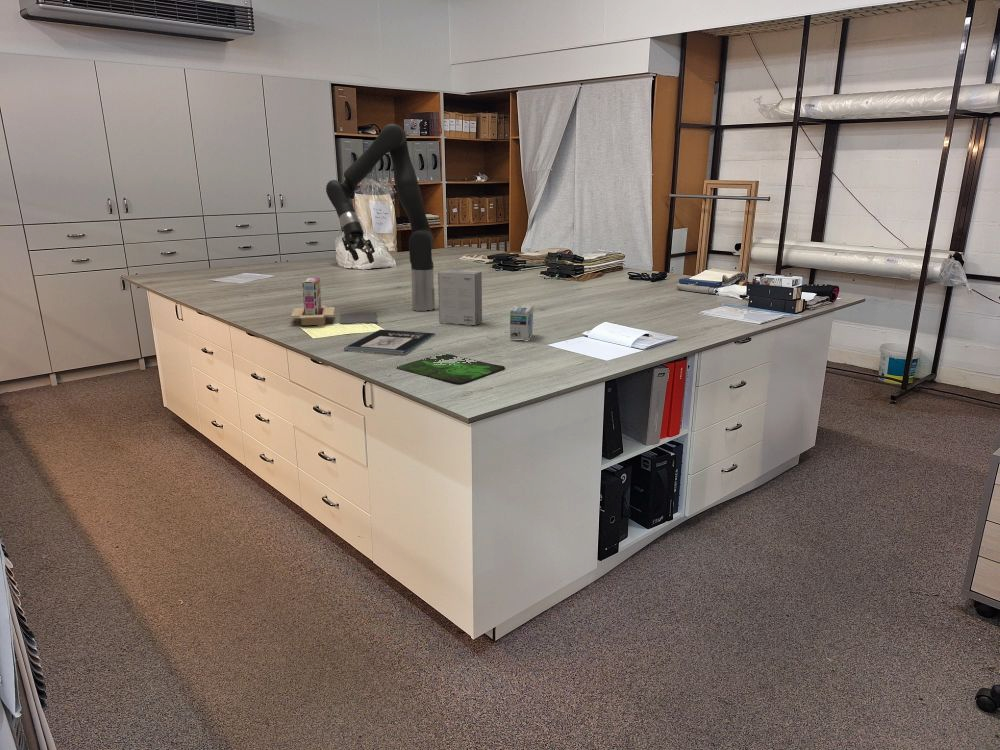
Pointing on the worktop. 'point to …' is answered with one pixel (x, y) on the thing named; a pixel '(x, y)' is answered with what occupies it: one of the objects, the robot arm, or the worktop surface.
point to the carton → (313, 316)
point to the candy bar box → (312, 296)
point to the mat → (358, 318)
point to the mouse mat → (451, 369)
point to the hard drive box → (460, 297)
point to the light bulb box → (521, 322)
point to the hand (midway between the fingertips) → (364, 261)
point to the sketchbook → (390, 342)
